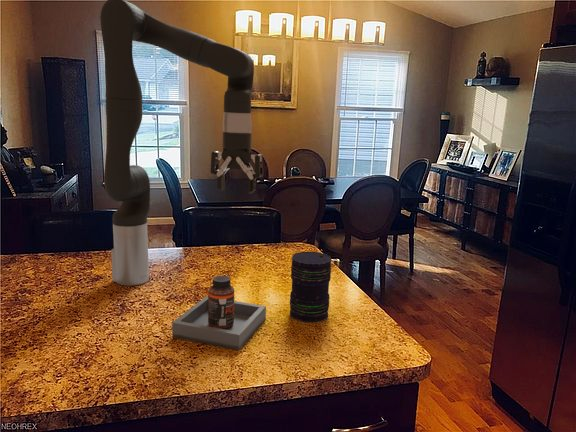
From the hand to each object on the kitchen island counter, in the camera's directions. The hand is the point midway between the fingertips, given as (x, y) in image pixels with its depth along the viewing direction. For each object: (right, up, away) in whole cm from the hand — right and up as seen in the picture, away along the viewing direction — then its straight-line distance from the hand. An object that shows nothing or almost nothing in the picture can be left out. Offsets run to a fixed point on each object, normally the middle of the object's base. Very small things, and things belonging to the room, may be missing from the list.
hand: (236, 191), depth 126 cm
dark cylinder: (+19, -31, -9) cm, 38 cm away
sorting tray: (-2, -33, -18) cm, 37 cm away
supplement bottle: (-2, -32, -18) cm, 37 cm away
